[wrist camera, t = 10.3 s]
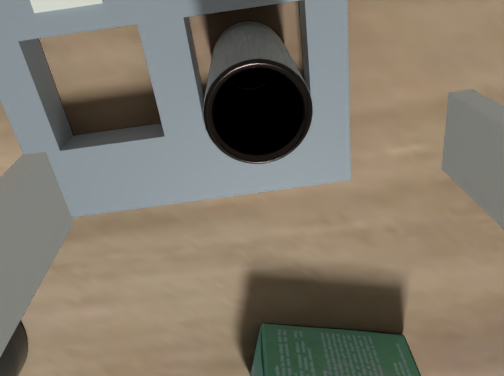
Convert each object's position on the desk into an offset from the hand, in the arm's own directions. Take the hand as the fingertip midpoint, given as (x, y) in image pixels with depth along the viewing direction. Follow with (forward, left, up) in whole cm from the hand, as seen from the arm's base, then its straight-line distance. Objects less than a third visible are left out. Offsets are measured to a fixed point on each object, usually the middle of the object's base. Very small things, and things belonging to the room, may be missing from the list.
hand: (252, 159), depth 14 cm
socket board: (-4, 0, -14) cm, 15 cm away
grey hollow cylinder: (0, 0, -14) cm, 14 cm away
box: (+4, -27, -15) cm, 31 cm away
